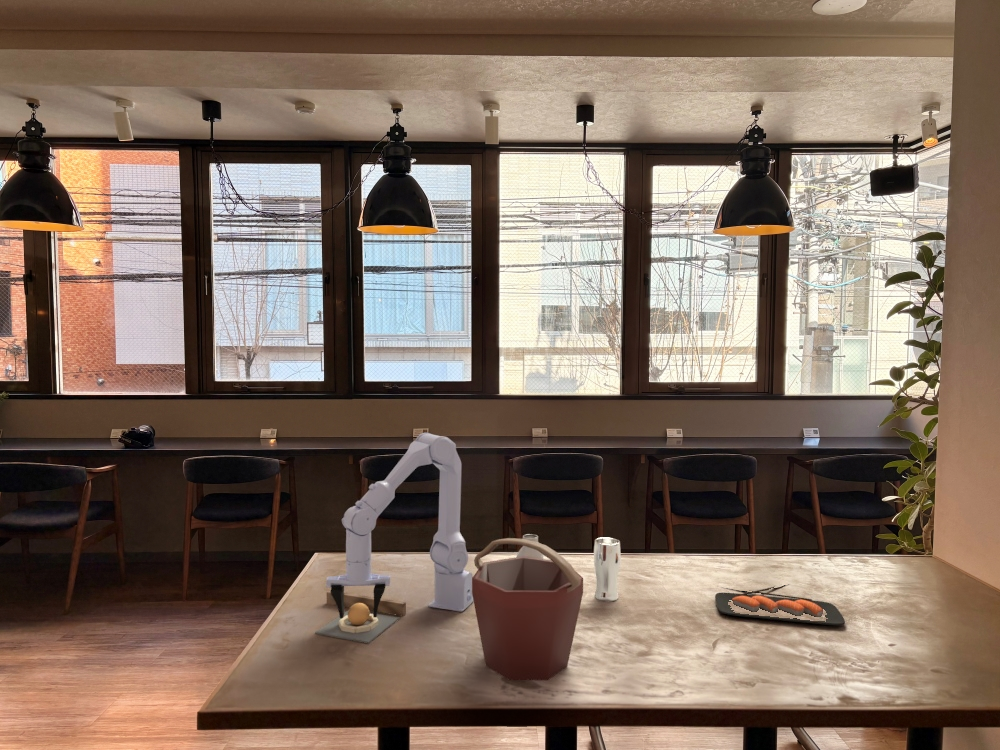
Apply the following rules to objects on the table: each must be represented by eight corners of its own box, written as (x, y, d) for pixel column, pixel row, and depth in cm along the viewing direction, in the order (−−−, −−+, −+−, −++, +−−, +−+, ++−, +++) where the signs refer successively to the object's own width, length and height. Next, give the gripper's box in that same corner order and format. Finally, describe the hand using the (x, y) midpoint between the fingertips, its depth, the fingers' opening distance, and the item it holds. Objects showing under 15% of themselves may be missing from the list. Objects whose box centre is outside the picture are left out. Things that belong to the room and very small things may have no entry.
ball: (370, 619, 156) (370, 599, 156) (368, 628, 151) (368, 607, 151) (349, 620, 155) (349, 599, 155) (346, 629, 150) (346, 607, 150)
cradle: (399, 619, 157) (399, 613, 157) (369, 643, 144) (369, 637, 144) (349, 610, 162) (349, 605, 162) (315, 633, 149) (315, 627, 149)
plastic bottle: (541, 624, 155) (542, 541, 154) (513, 621, 156) (514, 539, 155) (545, 613, 161) (546, 533, 160) (518, 611, 163) (519, 531, 162)
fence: (405, 614, 160) (405, 602, 160) (403, 616, 159) (403, 604, 159) (329, 602, 168) (329, 590, 168) (326, 603, 166) (326, 592, 166)
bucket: (450, 654, 139) (450, 538, 138) (526, 627, 153) (527, 521, 152) (527, 702, 120) (529, 568, 120) (607, 666, 135) (608, 546, 134)
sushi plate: (718, 619, 160) (718, 604, 160) (709, 578, 189) (709, 565, 189) (848, 633, 153) (849, 616, 153) (818, 588, 182) (819, 574, 182)
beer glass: (618, 593, 176) (619, 537, 175) (621, 602, 169) (621, 545, 168) (592, 591, 176) (593, 536, 176) (593, 601, 169) (594, 544, 169)
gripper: (391, 552, 157) (391, 608, 158) (329, 554, 156) (330, 610, 156) (389, 562, 150) (389, 620, 151) (324, 563, 149) (324, 622, 149)
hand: (358, 616), depth 153 cm, fingers open, 7 cm apart
